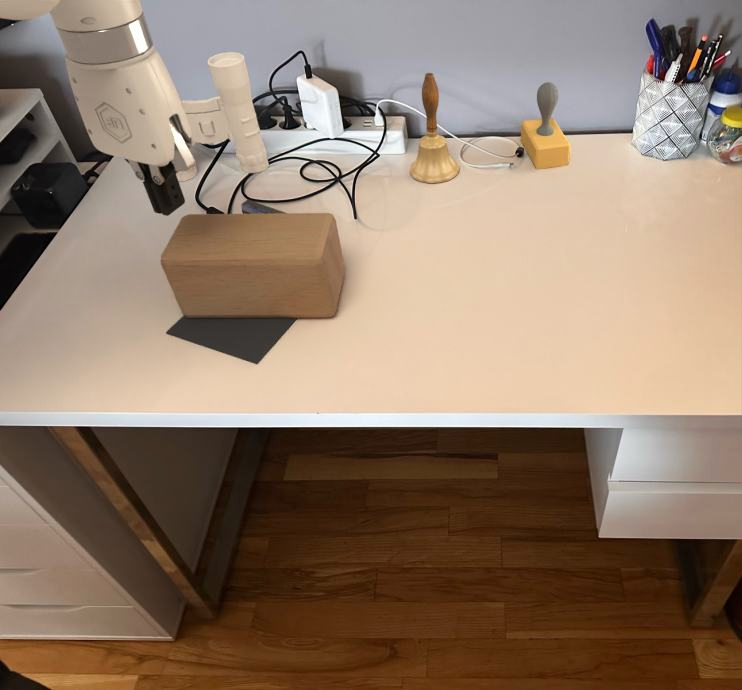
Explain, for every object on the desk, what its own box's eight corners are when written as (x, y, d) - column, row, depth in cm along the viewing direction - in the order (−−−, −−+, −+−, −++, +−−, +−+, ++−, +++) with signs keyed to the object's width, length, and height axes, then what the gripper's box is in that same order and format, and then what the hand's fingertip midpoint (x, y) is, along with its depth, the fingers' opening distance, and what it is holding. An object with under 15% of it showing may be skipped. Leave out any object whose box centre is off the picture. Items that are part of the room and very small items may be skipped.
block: (181, 321, 86) (336, 320, 86) (154, 259, 79) (322, 258, 79) (204, 271, 93) (347, 271, 93) (181, 211, 86) (335, 209, 86)
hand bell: (409, 159, 114) (400, 65, 103) (458, 156, 114) (454, 62, 103) (409, 185, 108) (400, 88, 97) (460, 182, 108) (457, 85, 97)
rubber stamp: (520, 140, 117) (522, 72, 109) (552, 136, 118) (557, 68, 110) (535, 169, 111) (539, 99, 102) (569, 164, 111) (576, 94, 103)
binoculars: (271, 156, 116) (245, 50, 103) (270, 172, 112) (243, 64, 100) (169, 167, 114) (129, 61, 102) (165, 184, 110) (123, 76, 98)
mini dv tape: (250, 239, 99) (240, 204, 95) (257, 233, 100) (247, 199, 96) (293, 255, 96) (284, 220, 92) (300, 249, 97) (291, 214, 93)
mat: (257, 364, 81) (256, 362, 81) (166, 333, 85) (165, 332, 85) (311, 302, 89) (310, 301, 88) (225, 277, 93) (224, 276, 93)
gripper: (15, 41, 62) (95, 211, 75) (140, 65, 57) (202, 241, 70) (78, 15, 67) (142, 178, 80) (198, 35, 62) (246, 205, 75)
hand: (170, 207), depth 75 cm, fingers closed
